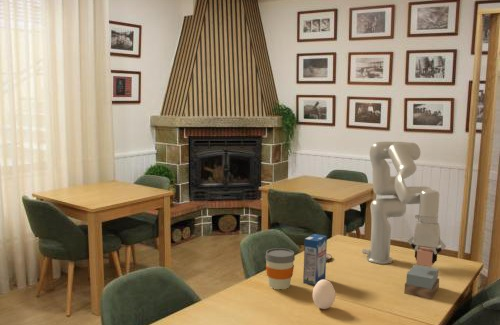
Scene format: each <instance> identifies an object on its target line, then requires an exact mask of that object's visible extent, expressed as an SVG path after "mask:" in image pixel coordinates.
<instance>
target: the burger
mask: <svg viewBox="0 0 500 325" xmlns="http://www.w3.org/2000/svg"><path fill="white" fill-rule="evenodd" d="M330 259H331V260H332V254H329V253H327V252H326V263H329V262H330Z"/></svg>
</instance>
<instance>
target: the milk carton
mask: <svg viewBox="0 0 500 325" xmlns="http://www.w3.org/2000/svg"><path fill="white" fill-rule="evenodd" d="M327 243H328V236H327V235H323V234H319V233H313V234H311V235H309V236H308V237H305V238H304V244H303V245H304V250H303V276H302V277H303V278H302V279H303V282H302V283H303V284H305V283H307V284H306V285H310V284H312V285H311V286H314V285H316V284H317V282H318V281H320V280H323V279H325V280H326V272H327V271H326V270H327V269H326V268H327V262H326V253H327V246H328V245H327Z"/></svg>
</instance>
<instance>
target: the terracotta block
mask: <svg viewBox="0 0 500 325" xmlns="http://www.w3.org/2000/svg"><path fill="white" fill-rule="evenodd" d="M433 253H434V252H433V249H432V248H429V247H423V246H420V247H419V249H418V250H417V260H416V264H415V265H420V266H425V267H431V268H432V267H433V265H434V264H435V263H432V259H433Z"/></svg>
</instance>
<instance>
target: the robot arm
mask: <svg viewBox="0 0 500 325" xmlns="http://www.w3.org/2000/svg"><path fill="white" fill-rule="evenodd" d="M369 148H370V149H369V159H370V163H371V166H372V189H373V190H372V191H373V194H375V195H376V196H387V198H386V197H385V198H375V199H373V200H372V201H371V203H370V216H371V217H370V218H371V230H370V248H369V249H365V248H363V249H362V254H363V255H366V260H367V261H368V262H371V263H373V264H379V265H380V264H381V265H387V264H391V263H392V262H393V261H394V260H393V258H392V257H391V256H390V253H391V237H392V236H391V235H392V234H391V233H392V225H391V223H390V221H389V220H388V218H401V217H404V215H406V213H407V205H418V206H419V208H418V209H419V210H418V214H415V217H414V218H415V219H417V221H416V222H415V226H414V230H413V231H414V232H413V236H412V237H411V238H409V239H408V240H407V243H409V245H410V246H411V248H413V250H414V258H415V261H417V250H418V249H419V248H420V247H425V248H431V249H433V252H434V253H433V259H432V263H434V264H435V263H436V262H437V261H438V254H439V253H440V252H442V251H443V250H445V249H446V248H447V245H446V243H444V241H443V240H442V239H441V227H440V223H439V222H438V221H439V207H440V206H439V205H440V193H439V191H437V190H435V189H432V188H430V187H429V186H425V185H423V186H407V184H406V183H405V181H404V180H405V179H407V178H409V177H411V176H412V175H414V174H415V173H416V171H417V166H416V164H415V161H418V159H420V157H421V149H420V147H419V145H418V144H417V143H415V142H409V141H377V142H374V143H373V144H371V146H370V147H369ZM387 160H391V162H392V164H393V166H394V168H395V170H396V172H397V174H396V175H395V176H392V175H391V167H390V164H389V163H388V161H387ZM388 196H393V197H388ZM439 246H440V247H439Z"/></svg>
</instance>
